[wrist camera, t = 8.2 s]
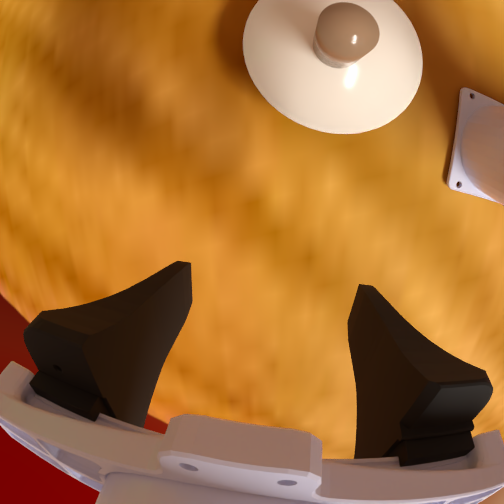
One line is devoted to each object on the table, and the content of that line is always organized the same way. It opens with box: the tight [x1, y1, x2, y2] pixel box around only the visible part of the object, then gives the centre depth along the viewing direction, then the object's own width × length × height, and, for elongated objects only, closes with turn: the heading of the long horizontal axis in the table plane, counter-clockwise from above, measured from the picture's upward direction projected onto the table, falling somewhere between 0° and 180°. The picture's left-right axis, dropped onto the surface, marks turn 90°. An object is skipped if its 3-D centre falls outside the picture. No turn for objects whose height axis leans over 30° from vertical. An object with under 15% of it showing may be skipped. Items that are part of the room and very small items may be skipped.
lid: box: [243, 0, 423, 134], centre depth 11 cm, size 10×10×5 cm
